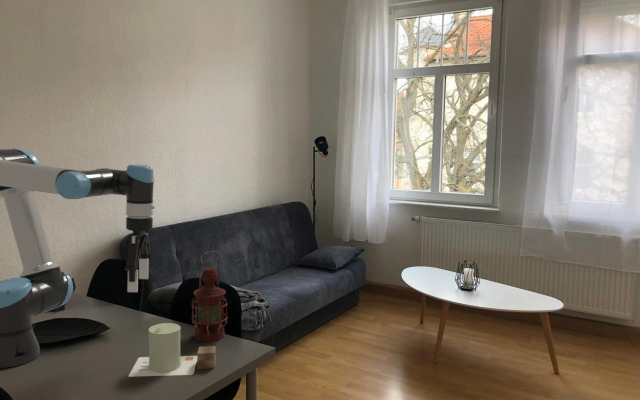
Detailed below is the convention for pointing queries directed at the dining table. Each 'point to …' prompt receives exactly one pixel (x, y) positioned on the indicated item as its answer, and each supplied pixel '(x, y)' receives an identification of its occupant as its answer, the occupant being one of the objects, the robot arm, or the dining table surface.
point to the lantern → (209, 306)
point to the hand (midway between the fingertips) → (138, 285)
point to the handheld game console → (65, 303)
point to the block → (206, 357)
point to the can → (164, 347)
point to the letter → (143, 370)
